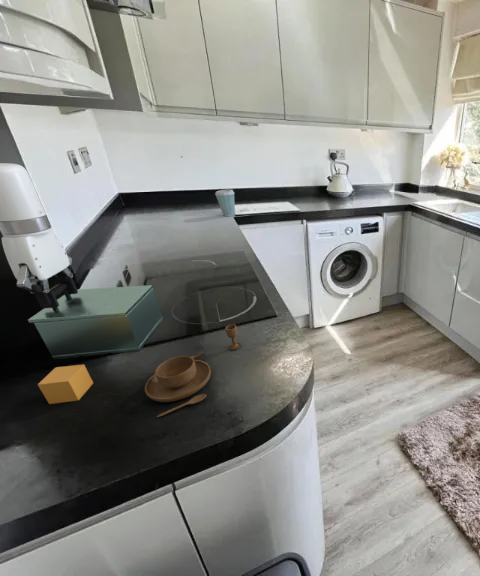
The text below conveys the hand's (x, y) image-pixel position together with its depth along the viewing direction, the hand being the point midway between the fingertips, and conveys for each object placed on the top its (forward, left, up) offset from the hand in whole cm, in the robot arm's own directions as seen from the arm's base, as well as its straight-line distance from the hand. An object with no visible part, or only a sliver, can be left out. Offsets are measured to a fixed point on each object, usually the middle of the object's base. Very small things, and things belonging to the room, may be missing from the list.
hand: (60, 299), depth 76 cm
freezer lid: (+7, +1, -2) cm, 7 cm away
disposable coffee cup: (-6, +134, -12) cm, 134 cm away
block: (+11, -19, -12) cm, 25 cm away
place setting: (+35, -16, -12) cm, 41 cm away
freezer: (+7, +1, -12) cm, 14 cm away
